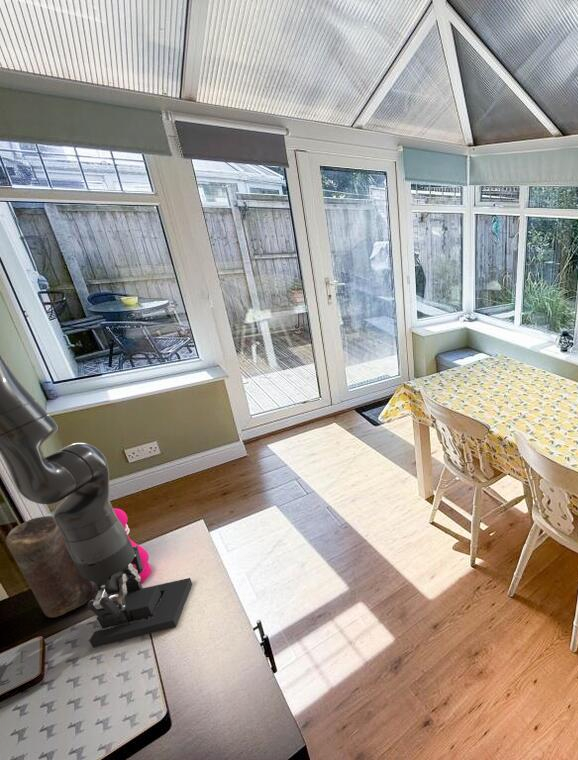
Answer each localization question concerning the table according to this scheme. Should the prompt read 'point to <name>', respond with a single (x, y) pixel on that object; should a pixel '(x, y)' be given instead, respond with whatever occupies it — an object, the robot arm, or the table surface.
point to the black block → (137, 605)
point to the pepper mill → (143, 554)
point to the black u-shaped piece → (162, 618)
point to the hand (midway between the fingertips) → (131, 609)
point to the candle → (48, 566)
